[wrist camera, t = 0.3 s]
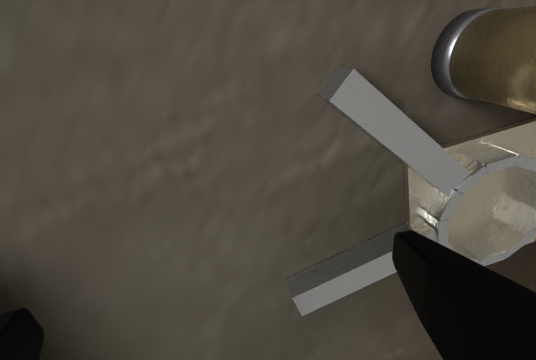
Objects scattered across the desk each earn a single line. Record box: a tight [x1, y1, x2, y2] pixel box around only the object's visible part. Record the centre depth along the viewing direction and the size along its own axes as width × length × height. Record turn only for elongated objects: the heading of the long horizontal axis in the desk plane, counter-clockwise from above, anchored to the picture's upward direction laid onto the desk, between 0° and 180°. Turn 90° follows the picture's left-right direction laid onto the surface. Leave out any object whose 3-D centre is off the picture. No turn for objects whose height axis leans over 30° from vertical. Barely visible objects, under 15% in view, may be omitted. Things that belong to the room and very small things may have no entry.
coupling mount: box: [286, 65, 536, 316], centre depth 24 cm, size 20×23×2 cm
